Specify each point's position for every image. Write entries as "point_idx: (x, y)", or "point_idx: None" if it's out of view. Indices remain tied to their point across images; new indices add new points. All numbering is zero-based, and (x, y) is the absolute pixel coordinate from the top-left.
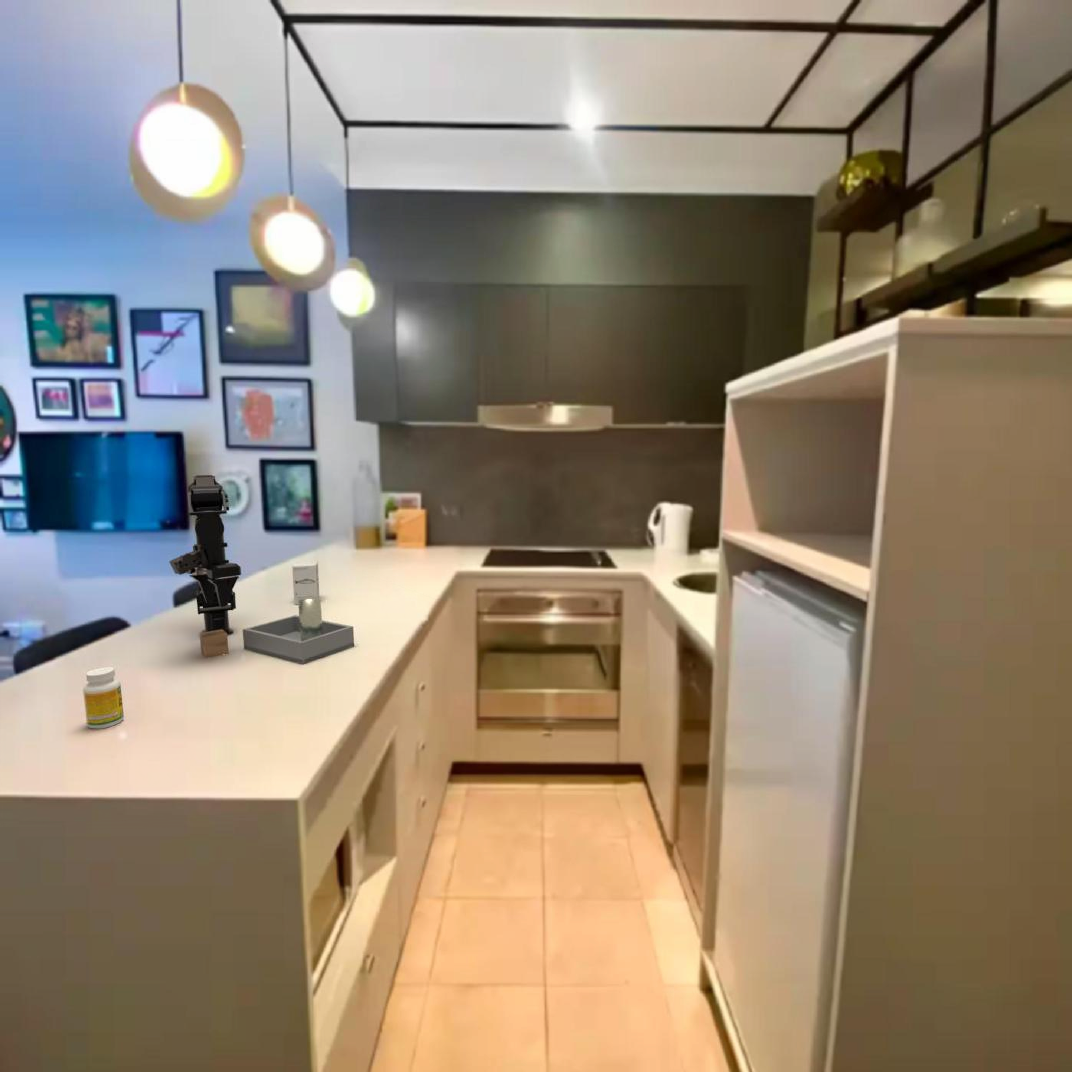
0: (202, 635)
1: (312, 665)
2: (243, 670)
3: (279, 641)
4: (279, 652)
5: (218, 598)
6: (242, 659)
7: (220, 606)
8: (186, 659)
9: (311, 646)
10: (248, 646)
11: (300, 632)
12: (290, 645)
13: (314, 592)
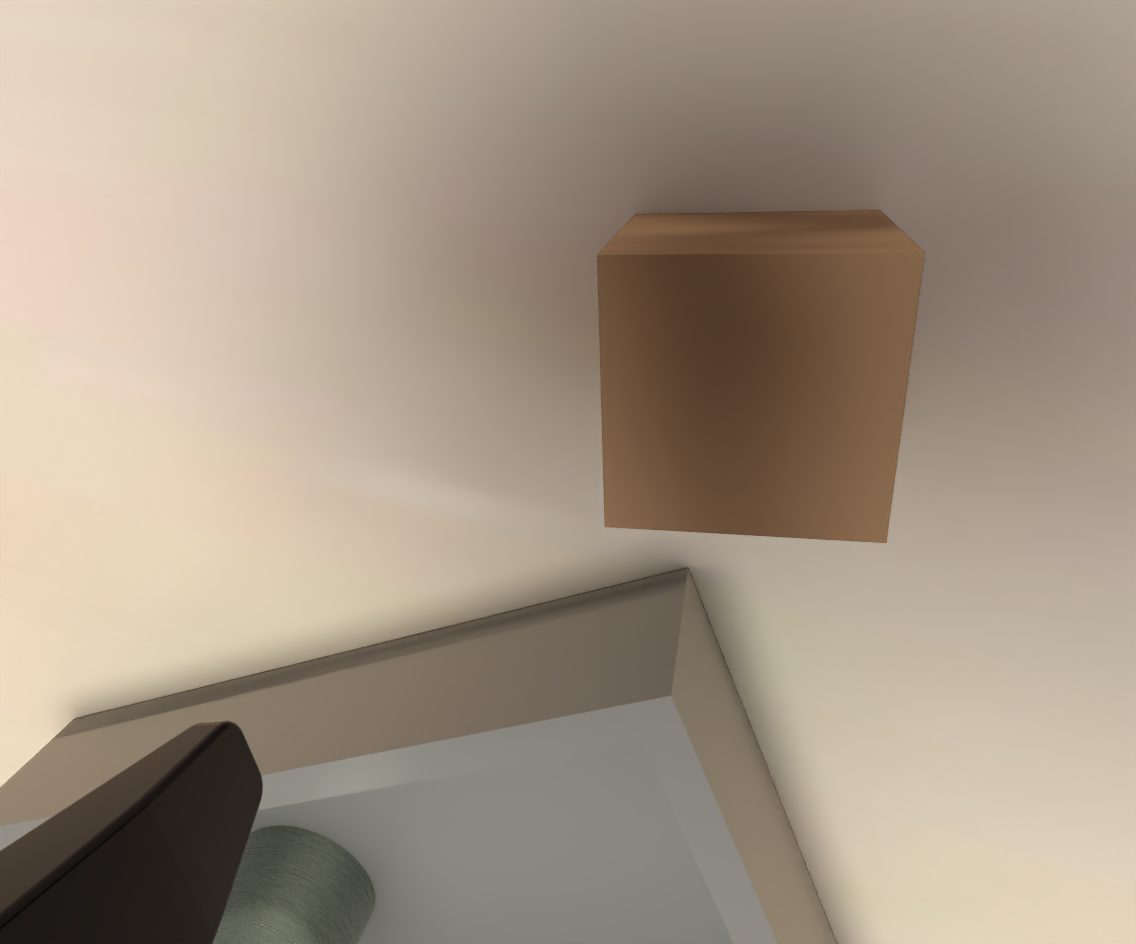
0: (747, 265)
1: (39, 746)
2: (105, 411)
3: None
4: (233, 703)
5: (37, 849)
6: (387, 477)
7: (214, 722)
8: (735, 19)
9: None
10: (613, 604)
11: (237, 941)
12: (73, 785)
13: None
